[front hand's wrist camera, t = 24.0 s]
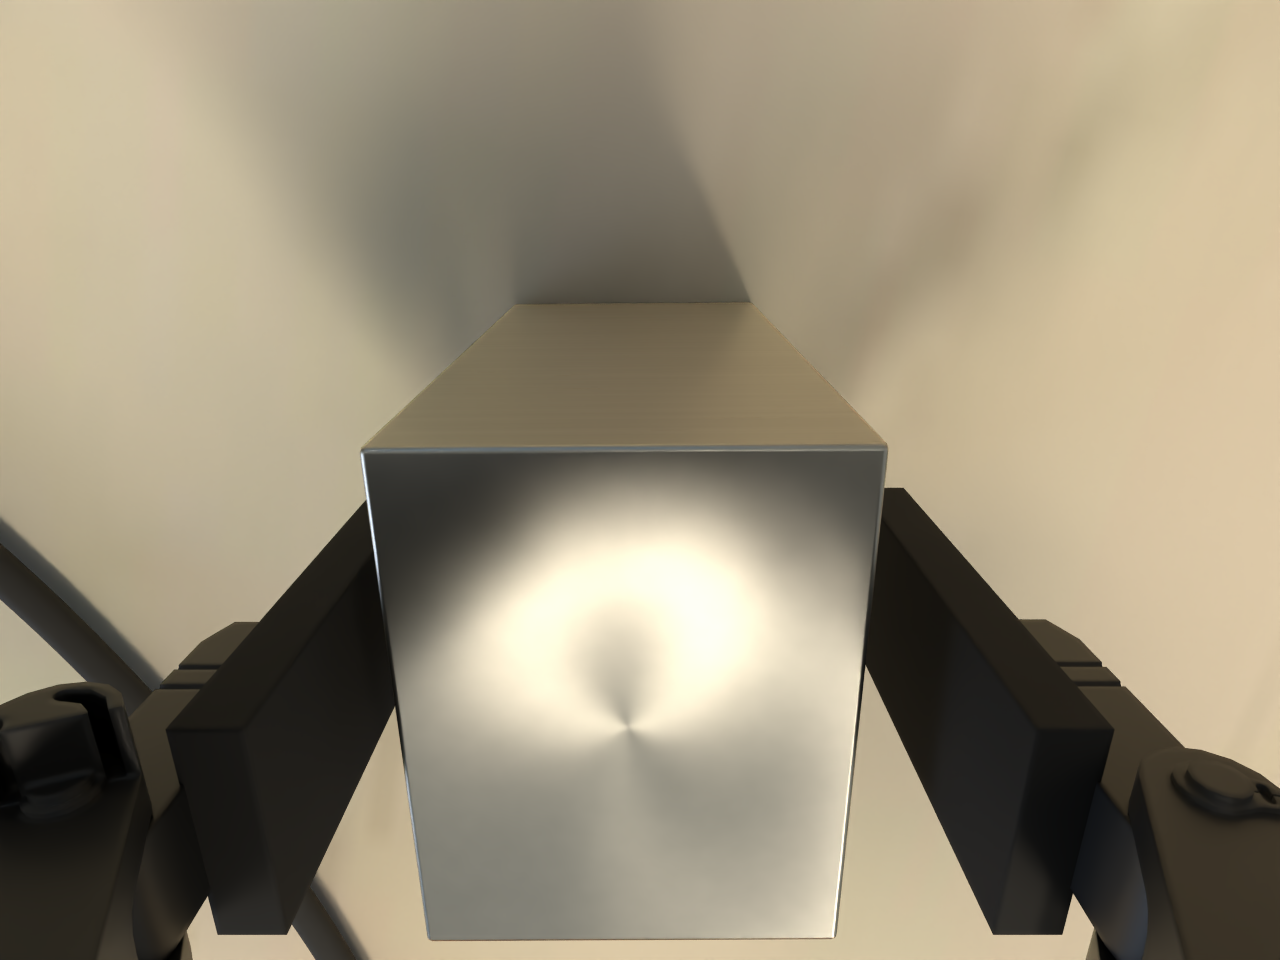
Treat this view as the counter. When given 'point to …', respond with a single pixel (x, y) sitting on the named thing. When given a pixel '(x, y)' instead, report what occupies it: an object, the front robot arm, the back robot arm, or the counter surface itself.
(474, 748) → the block
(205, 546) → the counter surface
